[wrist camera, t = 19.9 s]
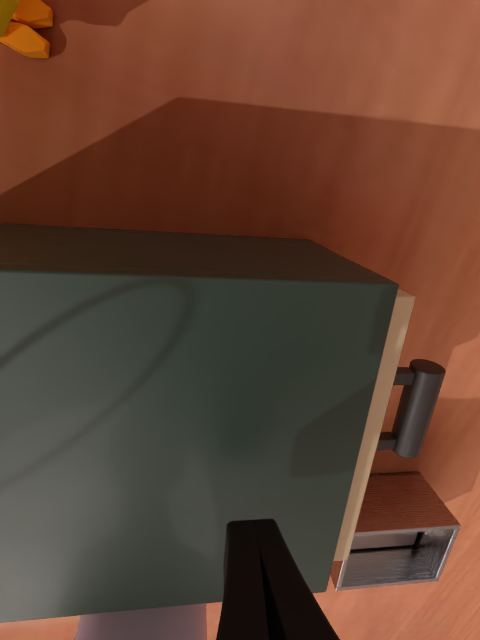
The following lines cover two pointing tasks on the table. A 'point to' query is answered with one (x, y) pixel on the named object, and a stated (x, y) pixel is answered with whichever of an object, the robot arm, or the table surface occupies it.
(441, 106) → the table surface
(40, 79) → the table surface
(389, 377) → the drawer
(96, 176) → the table surface
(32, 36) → the toy figure
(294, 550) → the cabinet
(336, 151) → the table surface
